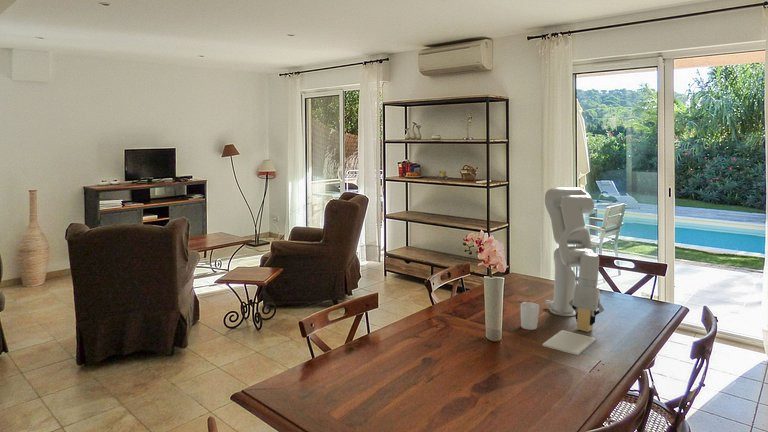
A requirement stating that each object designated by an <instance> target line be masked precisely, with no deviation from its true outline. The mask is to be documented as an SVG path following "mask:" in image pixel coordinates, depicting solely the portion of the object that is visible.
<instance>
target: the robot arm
mask: <svg viewBox="0 0 768 432" xmlns="http://www.w3.org/2000/svg"><path fill="white" fill-rule="evenodd" d="M544 204H545V208H546V211H547V213H548V215H549V217H550V220H551V228H552V235H553V239H554V241H555V244H557V245H558V247H557V248H556V249H555V250H554V251H553V261H554V262H553V263H554V283H553V285H554V287H553V300H550V299H545V305H546V306H550V307H549V312H550V313H551V314H554V315H557V316H561V317H574V316H575V321H576V323H577V317H578V307H579V308H583V309H587V310H591V317H590V325H591V326H592V325H593V326H594V324H595V323H596V316H597V315H599V314H601V313H602V312H604V311H605V308H604V307H603V305H602V303H601V293H600V286H599V285H598V282H599V281H598V280H599V270H600V269H599V267H600V256H599V254H598V253H595V252H594V250H593V248H592V247H593V246H592V242H591V236H590V233H589V230H588V228H587V226H586V222H585V218H584V215H583V214H591V213H592V212H593V211H594V209H595V202H594V200H593V198H592V196H591V195H590V194H589V193H588V192H587V191H586V190H584V189H583V188H581V187H552V188H550V189H548V190H547V191H546V192H545V194H544ZM574 245H575V246H574ZM572 268H579V269H578V276H577V275H576V273H575V272H574V270H573V269H572Z"/></svg>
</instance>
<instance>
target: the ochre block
mask: <svg viewBox="0 0 768 432" xmlns="http://www.w3.org/2000/svg"><path fill="white" fill-rule="evenodd" d="M590 317H591V310H587V309H583V308H579V307H578V317H577V319H576V320H577V322H576V330H579V331H584V332H587V333H590V331H592V329H593V328H594V324H593V325H592V326H591V325H590Z"/></svg>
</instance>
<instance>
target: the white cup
mask: <svg viewBox="0 0 768 432" xmlns="http://www.w3.org/2000/svg"><path fill="white" fill-rule="evenodd" d="M539 315H540V304H538V303H535V302H528V301H526V302H525V301H524V302H521V303H520V327H521V328H522V329H525V330H530V331H531V330H536V329H537V328H538V323H539Z"/></svg>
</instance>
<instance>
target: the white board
mask: <svg viewBox="0 0 768 432" xmlns="http://www.w3.org/2000/svg"><path fill="white" fill-rule="evenodd" d="M596 340H597V339H596V337H593V336H588V335H584V334H580V333H576V332H573V331H568V330H564V329H561V330H560V331H558V332H557V333H555V334H554V335H552V336H551V337H550V338H548V339H547V340H546V341H545V342H543V343H542V347H545V348H549V349H553V350H557V351H559V352H564V353H568V354H571V355H575V356H579V355H580V354H581V353H582V352H584V351H585V350H586V349H587V348H588V347H589V346H590V345H592V344H593V343H594V342H595V341H596Z"/></svg>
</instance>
